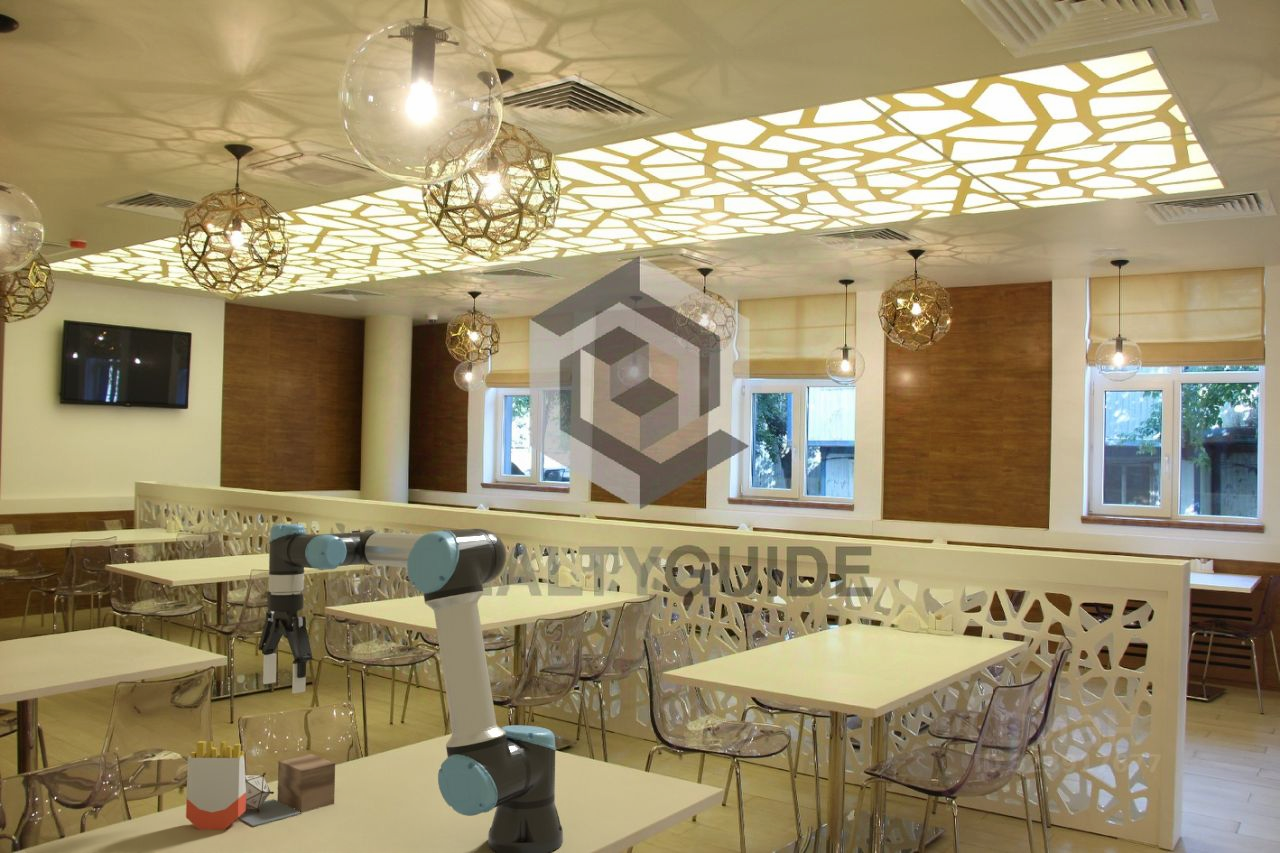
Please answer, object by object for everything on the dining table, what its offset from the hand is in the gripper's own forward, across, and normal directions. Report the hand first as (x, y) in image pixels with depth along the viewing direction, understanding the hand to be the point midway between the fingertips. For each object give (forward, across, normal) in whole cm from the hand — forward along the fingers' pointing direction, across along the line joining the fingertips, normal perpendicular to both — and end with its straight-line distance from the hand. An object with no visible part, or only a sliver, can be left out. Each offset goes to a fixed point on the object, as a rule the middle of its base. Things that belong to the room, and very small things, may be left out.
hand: (283, 687), depth 218 cm
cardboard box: (+27, 0, -6) cm, 27 cm away
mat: (+27, 0, +4) cm, 27 cm away
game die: (+21, +3, +2) cm, 21 cm away
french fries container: (+27, 0, +14) cm, 31 cm away
